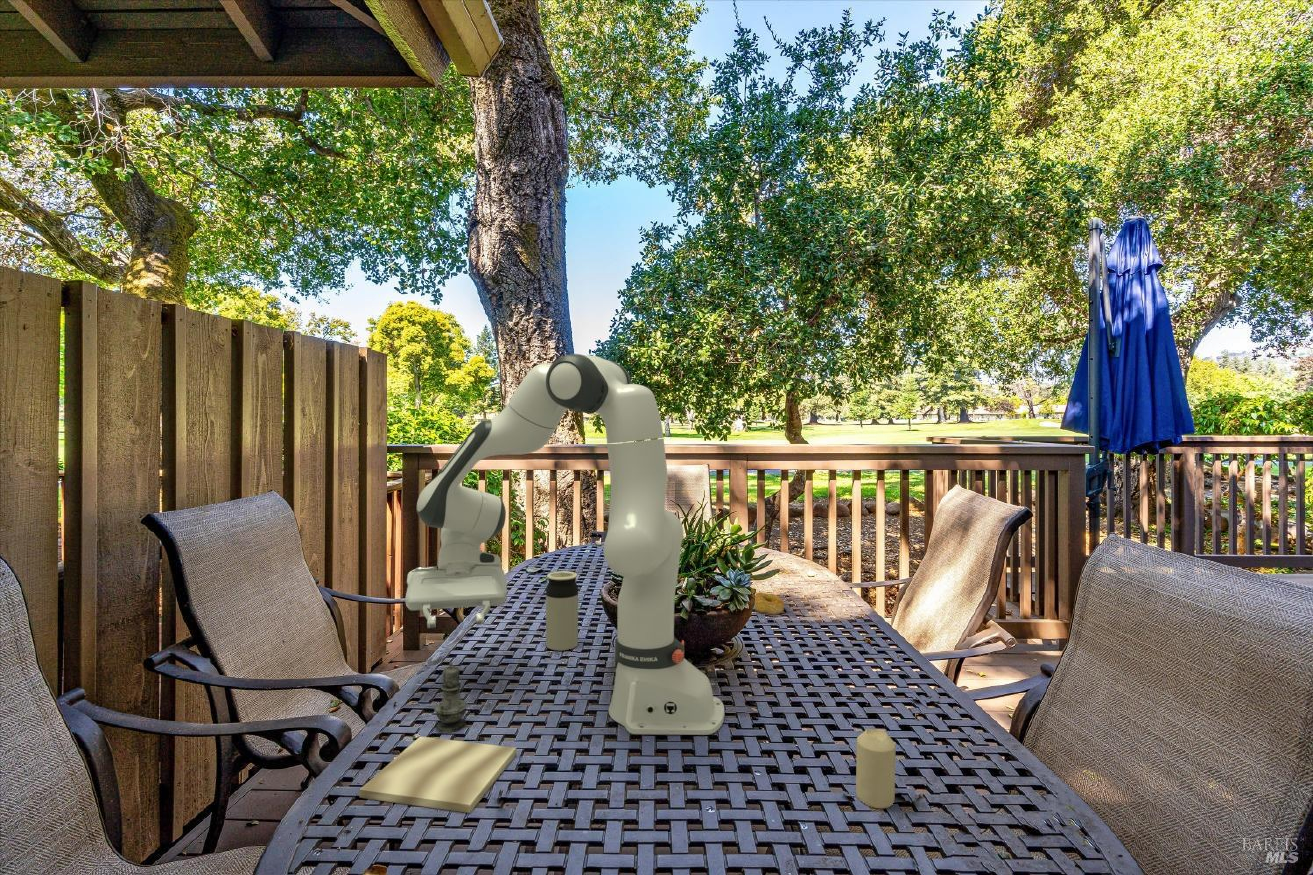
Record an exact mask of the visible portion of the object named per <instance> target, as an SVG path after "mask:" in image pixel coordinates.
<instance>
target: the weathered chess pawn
mask: <svg viewBox="0 0 1313 875" xmlns="http://www.w3.org/2000/svg"><path fill="white" fill-rule="evenodd" d="M461 687H462V684H461V683H460V669H459V667H458V666H456V665H454V663H453V661H450V662H449V664H448V666H446V667H445V668H444V669H443V671H442V685H441V686H440V689H441V690H442V699H441V702H438V704H436V705H435V707H434V711H435V713H436V716H437V717H436V718H437V719H438V720H439V722H438V723H437V724H436V726H435V727H436V730H437V731H438V732H440V733H455V732H457V731H460V730H462V729H463V728H465V727H466V726H467V721H466V719H463V717H464V716H465V714H466V711H467V708H468V706H469V705H468V704H469V703H468V702H467V701H466V700H464V699H461V693H460V692H461Z"/></svg>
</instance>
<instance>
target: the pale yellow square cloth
mask: <svg viewBox="0 0 1313 875" xmlns="http://www.w3.org/2000/svg"><path fill="white" fill-rule="evenodd" d="M516 756H517V747H513V746H504V745H496V744H488V743H478V742H471V741H469V742H468V741H462V740H461V741H460V740H453V739H444V738H437V737H436V738H435V737H430V736H429V737H427V736H419V737H418V738H417V739H416V740H414V741H413V742H412V743H410V745H408V747H406V748H405V749H404V750H402V752H400V753H399V754H398V755H397V756H396V757H395V758H394V759H393V760H391V762H389V763H388V764H387V765H385V766H384V767H383V768H382V769H381V770H380V771H379V772H377V774H375V775H374V776H373V777H372V778H371V779H370V780H369V781H367V782H366V783H365V784H364V785H363V786H362V787H360V789H358V790H359V791H358V792H359V793H358V794H359V798H360V799H361V798H362V799H367V800H368V799H369V800H374V801H375V800H376V801H382V802H390V803H397V804H402V805H412V806H417V807H425V808H431V809H439V810H444V811H445V810H446V811H453V812H459V813H467V814H471V812H472V811H473V810H474V809H475V808H476V806H477V805H478V804H479V803H480V802H481V800H482V799H483V798H484V796H485V795H486V794H485V793H488V791H489V790H490V789H491V787H492V786H493V785H494V784H495V782H496V781H497V780H498V778H500V776H501V775H500V774H502V773H503V772H504V771H505V769H507V767H508V766H509V765H510V763H511V762H512V761H513V760H514V758H515V757H516ZM484 794H485V795H484Z"/></svg>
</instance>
